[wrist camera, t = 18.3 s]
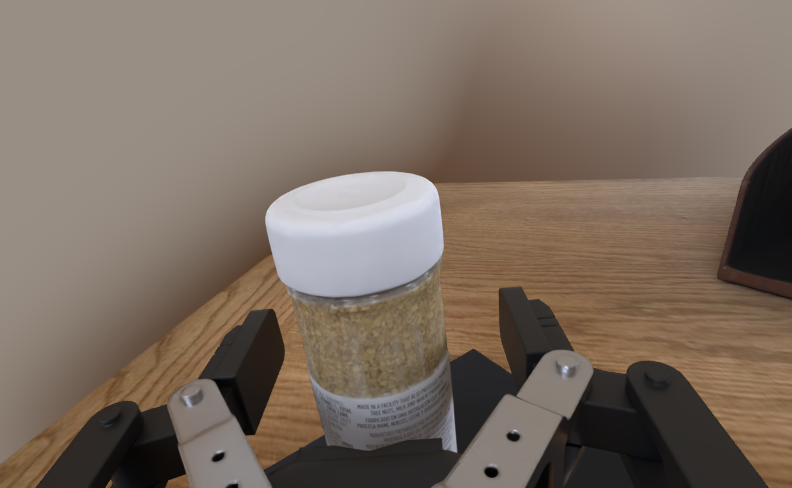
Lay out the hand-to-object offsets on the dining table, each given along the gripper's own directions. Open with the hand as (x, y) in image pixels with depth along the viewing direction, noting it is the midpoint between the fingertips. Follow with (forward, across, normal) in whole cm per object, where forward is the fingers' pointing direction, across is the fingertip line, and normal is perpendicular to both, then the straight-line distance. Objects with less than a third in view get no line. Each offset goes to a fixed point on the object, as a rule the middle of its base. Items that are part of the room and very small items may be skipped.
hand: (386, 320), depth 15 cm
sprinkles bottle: (-2, 0, +8) cm, 8 cm away
